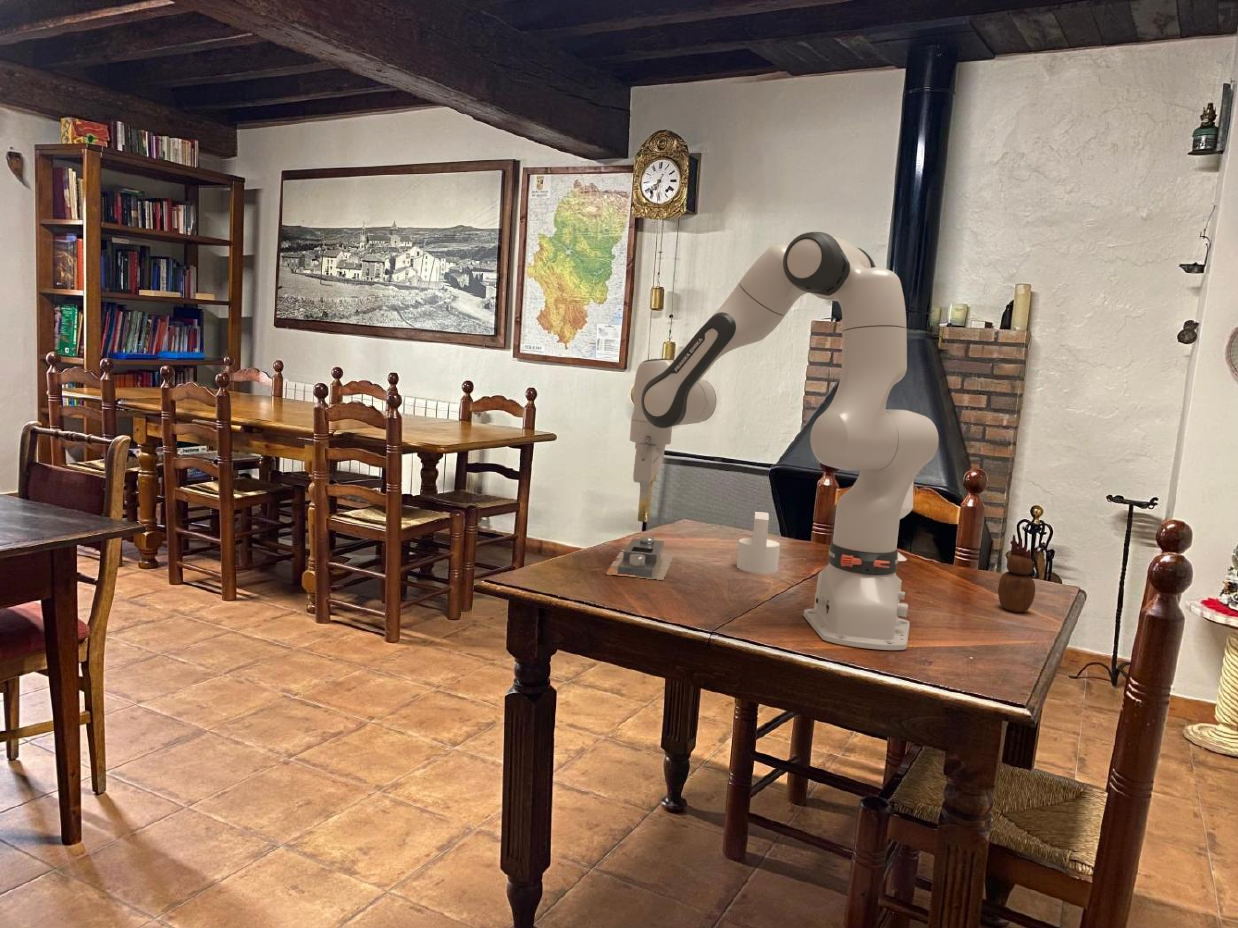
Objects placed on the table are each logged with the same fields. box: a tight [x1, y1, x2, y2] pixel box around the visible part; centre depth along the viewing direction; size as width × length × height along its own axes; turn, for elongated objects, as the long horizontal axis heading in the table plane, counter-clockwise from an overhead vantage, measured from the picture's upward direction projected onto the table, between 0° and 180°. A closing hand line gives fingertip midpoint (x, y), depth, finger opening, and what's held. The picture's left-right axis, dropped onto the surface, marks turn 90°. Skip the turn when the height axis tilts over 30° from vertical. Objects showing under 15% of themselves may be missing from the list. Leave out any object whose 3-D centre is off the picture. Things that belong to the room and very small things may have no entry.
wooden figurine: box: [997, 534, 1036, 613], centre depth 178 cm, size 7×6×15 cm
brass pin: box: [637, 475, 657, 523], centre depth 194 cm, size 4×4×10 cm
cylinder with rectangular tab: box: [736, 511, 781, 575], centre depth 199 cm, size 9×9×12 cm
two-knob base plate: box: [610, 535, 675, 581], centre depth 195 cm, size 23×12×4 cm, turn 171°
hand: (645, 497), depth 194 cm, fingers closed on brass pin, 3 cm apart
